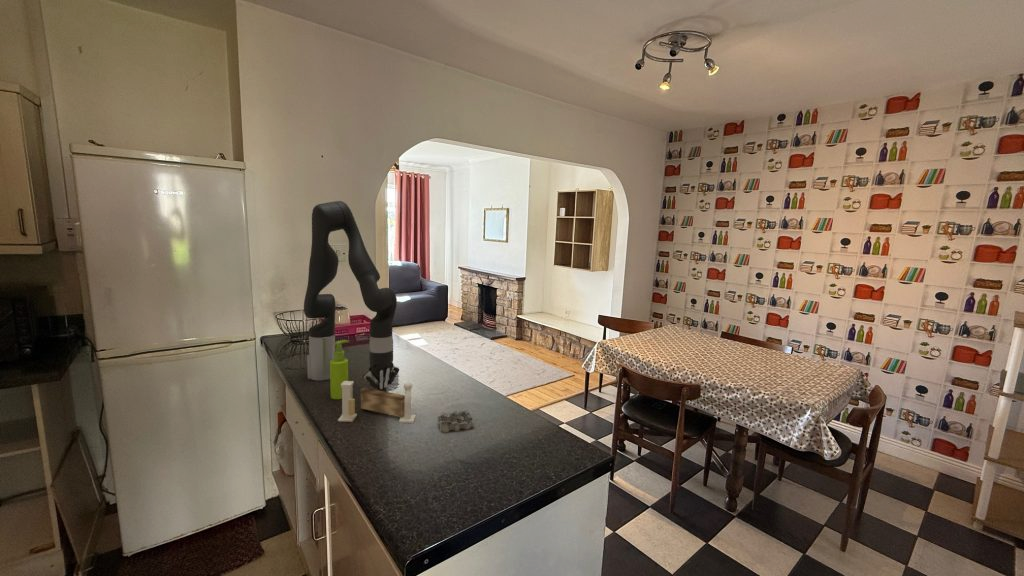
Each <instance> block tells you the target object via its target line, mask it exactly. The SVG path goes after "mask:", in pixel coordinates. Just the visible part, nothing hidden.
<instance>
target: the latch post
mask: <svg viewBox="0 0 1024 576" xmlns="http://www.w3.org/2000/svg"><path fill="white" fill-rule="evenodd" d="M354 384H355V382H354V380H348V381H344V382H343V383H342V384H341V387H342V399H341V403H342V404H341V407H342V408H341V412H342V413H341V415H339V416H340V417H339V418H338V419H337V422H350V423H351V422H352V423H353V422H354V420H355V419H356V417H357V416H358V414H357V413H356V399H355V398H354V397H353V395H354V394H353V387H354V386H353V385H354Z"/></svg>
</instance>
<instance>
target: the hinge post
mask: <svg viewBox="0 0 1024 576" xmlns="http://www.w3.org/2000/svg"><path fill="white" fill-rule="evenodd" d="M412 389H413V384H412V382H411V381H406V382H405V383H404V385H403V390H404V395H405V405H404V416H403V417H400V418H399V421H398V423H399V424H400V423H401V424H403V423H404V424H414V421H415V420H416V416H417V415H416V414H411V413H412Z"/></svg>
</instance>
